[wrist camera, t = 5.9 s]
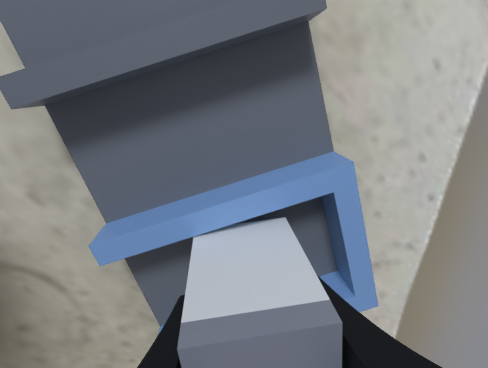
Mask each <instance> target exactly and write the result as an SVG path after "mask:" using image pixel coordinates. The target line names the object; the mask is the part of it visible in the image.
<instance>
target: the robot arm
mask: <svg viewBox="0 0 488 368" xmlns="http://www.w3.org/2000/svg"><path fill="white" fill-rule="evenodd" d="M317 277H318V278H319V280H320V282H321V284H322V286H323V288H324V290H325V291H326V293H327V295H328V297H329V299H330V301H331V302H332V304H333V306H334V308H335V310H336V312H337V314H338V315H339V317H340V319H341V321H342V368H442V367H440V366H438V365H437V364H435V363H433V362H431V361H429V360H428V359H426V358H424V357H423V356H421V355H419V354H418V353H416V352H414V351H413V350H411V349H410V348H408V347H407V346H405V345H403V344H402V343H400V342H399V341H397V340H396V339H394V338H393V337H391V336H390V335H388V334H387V333H386V332H384V331H383V330H381V329H380V328H379V327H377V326H376V325H375V324H373V323H372V322H371V321H370V320H368V319H367V318H366V317H364V316H363V315H362V314H361V313H360V312H358V311H357V310H356V309H355V308H354V307H352V306H351V305H350V304H349V303H348V302H346V301H345V300H344V299H343V298H342V297H341V296H340V295H338V294H337V293H336V292H335V291H334V290H333V289H332V288H331V287H330V286H329V285H328V284H326V283H325V282H324V281H323V280H322V279H321V278H320V277H319V276H317ZM184 299H185V295H181V296H180V297H179V298H178V300H177V302H176V304H175V306H174V308H173V310H172V312H171V314H170V315H169V317H168V319H167V321H166V323H165V324H164V326H163V328H162V330H161V331H160V333H159V335H158V336H157V338H156V340H155V341H154V343H153V345H152V346H151V348H150V349H149V351H148V352H147V354H146V355H145V357H144V358H143V360H142V361H141V363H140V364H139V366H138V367H137V368H181V363H180V359H179V355H178V351H177V347H178V340H179V333H180V326H181V319H182V312H183V305H184Z"/></svg>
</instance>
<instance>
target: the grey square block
mask: <svg viewBox="0 0 488 368" xmlns="http://www.w3.org/2000/svg"><path fill="white" fill-rule="evenodd" d="M177 351H178V355H179V359H180V363H181V368H342V321H341V319H340V317H339V315H338V314H337V312H336V310H335V308H334V306H333V304H332V302H331V301H330V299H329V297H328V295H327V293H326V291H325V290H324V288H323V286H322V284H321V282H320V280H319V278H318V277H317V275H316V273H315V271H314V269H313V267H312V266H311V264H310V262H309V260H308V258H307V256H306V254H305V253H304V251H303V249H302V247H301V245H300V243H299V241H298V240H297V238H296V236H295V234H294V232H293V230H292V229H291V227H290V225H289V223H288V221H287V219H286V217H283V218H276V219H269V220H262V221H254V222H247V223H240V224H233V225H228V226H225V227H222V228H219V229H216V230H213V231H209V232H206V233H203V234H200V235H197V236H194V237H193V244H192V250H191V257H190V264H189V271H188V278H187V285H186V292H185V299H184V305H183V312H182V319H181V326H180V333H179V340H178V347H177Z"/></svg>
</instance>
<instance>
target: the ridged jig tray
mask: <svg viewBox="0 0 488 368" xmlns="http://www.w3.org/2000/svg"><path fill="white" fill-rule="evenodd" d="M325 9H327V6H326V0H0V21H1V23H2V24H3V26H4V28H5V30H6V32H7V34H8V36H9V38H10V40H11V42H12V44H13V45H14V47H15V49H16V51H17V53H18V55H19V57H20V59H21V61H22V63H23V65H24V67H25V69H22V70H19V71H16V72H13V73H10V74H7V75H3V76H0V90H1V92H2V94H3V95H4V97H5V99H6V101H7V102H8V104H9V106H10V108H11V109H18V108H27V107H37V106H45V107H46V109H47V111H48V112H49V114H50V116H51V118H52V120H53V122H54V124H55V126H56V128H57V130H58V132H59V134H60V135H61V137H62V139H63V141H64V143H65V145H66V147H67V149H68V151H69V153H70V155H71V156H72V158H73V160H74V162H75V164H76V166H77V168H78V170H79V172H80V174H81V176H82V178H83V179H84V181H85V183H86V185H87V187H88V189H89V191H90V193H91V195H92V197H93V199H94V200H95V202H96V204H97V206H98V208H99V210H100V212H101V214H102V216H103V218H104V220H105V222H106V225H105V226H104V227H103V228H102V230H101V231H100V232H99V233H98V235H97V236H96V237H95V238H94V240H93V241H92V242H91V243H90V245H89V248H90V250H91V251H92V253H93V255H94V257H95V258H96V260H97V262H98V264H99V266H102V265H105V264H108V263H111V262H115V261H118V260H121V259H124V258H125V260H126V262H127V264H128V266H129V267H130V269H131V271H132V273H133V275H134V277H135V279H136V281H137V283H138V285H139V287H140V289H141V290H142V292H143V294H144V296H145V298H146V300H147V302H148V304H149V306H150V308H151V310H152V311H153V313H154V315H155V317H156V319H157V321H158V323H159V325H160V330H159V333H160V331H161V330H162V328H163V326H164V324H165V323H166V321H167V319H168V317H169V315H170V314H171V312H172V310H173V308H174V306H175V304H176V302H177V300H178V298H179V297H180V296H181V295H185V292H186V285H187V278H188V271H189V264H190V257H191V250H192V244H193V237H194V236H197V235H200V234H203V233H206V232H209V231H213V230H216V229H219V228H222V227H225V226H228V225H233V224H240V223H247V222H254V221H262V220H269V219H276V218H283V217H286V219H287V221H288V223H289V225H290V227H291V229H292V230H293V232H294V234H295V236H296V238H297V240H298V241H299V243H300V245H301V247H302V249H303V251H304V253H305V254H306V256H307V258H308V260H309V262H310V264H311V266H312V267H313V269H314V271H315V273H316V275H317V276H319V277H320V278H321V279H322V280H323V281H324V282H325V283H326V284H328V285H329V286H330V287H331V288H332V289H333V290H334V291H335V292H336V293H337V294H338V295H340V296H341V297H342V298H343V299H344V300H345V301H346V302H348V303H349V304H350V305H351V306H352V307H354V308H355V309H356V310H357V311H358V312H361V311H364V310H367V309H370V308H374V307H377V306H378V301H377V295H376V289H375V284H374V278H373V272H372V266H371V261H370V255H369V249H368V243H367V237H366V232H365V226H364V220H363V214H362V209H361V203H360V197H359V191H358V185H357V180H356V174H355V168H354V162H353V161H351V160H349V159H347V158H345V157H343V156H341V155H340V154H338V153H336V152H334V151H333V145H332V140H331V135H330V130H329V125H328V120H327V115H326V110H325V104H324V99H323V94H322V89H321V84H320V79H319V74H318V69H317V63H316V58H315V53H314V48H313V43H312V38H311V33H310V28H309V22H308V21H310V20H311V19H312V18H314V17H315V16H317V15H318V14H320V13H321V12H322V11H324V10H325Z"/></svg>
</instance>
